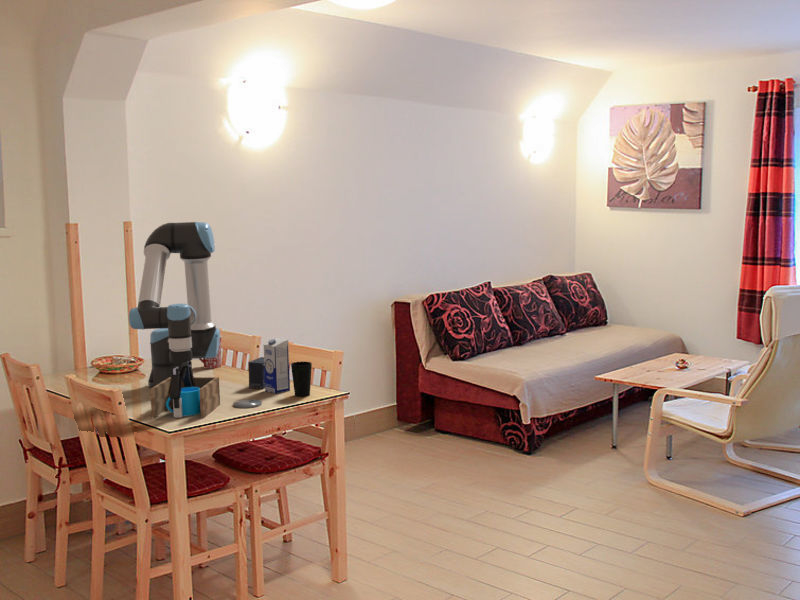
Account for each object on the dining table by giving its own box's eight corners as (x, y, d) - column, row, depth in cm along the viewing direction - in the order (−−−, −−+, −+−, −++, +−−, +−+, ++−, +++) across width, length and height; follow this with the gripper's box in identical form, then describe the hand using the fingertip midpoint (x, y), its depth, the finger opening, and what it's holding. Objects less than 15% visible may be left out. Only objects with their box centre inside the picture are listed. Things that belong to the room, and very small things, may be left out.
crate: (171, 404, 289) (169, 377, 287) (220, 404, 287) (218, 377, 286) (151, 418, 271) (150, 389, 270) (203, 418, 269) (202, 389, 268)
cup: (309, 391, 304) (308, 360, 302) (315, 396, 297) (314, 364, 295) (289, 394, 301) (288, 362, 300) (294, 398, 294) (293, 366, 292)
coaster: (237, 401, 292) (237, 399, 292) (264, 401, 291) (264, 399, 291) (229, 408, 282) (229, 406, 282) (257, 408, 281) (257, 406, 281)
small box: (263, 389, 309) (262, 362, 308) (248, 388, 311) (247, 361, 310) (276, 383, 319) (275, 357, 318) (261, 382, 321) (260, 356, 320)
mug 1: (196, 408, 283) (195, 385, 282) (204, 413, 276) (203, 390, 275) (162, 413, 276) (161, 390, 275) (170, 419, 269) (169, 395, 268)
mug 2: (220, 363, 359) (218, 334, 358) (225, 367, 351) (224, 337, 350) (191, 367, 354) (190, 336, 352) (196, 370, 346) (195, 339, 344)
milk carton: (290, 390, 306) (288, 338, 304) (275, 393, 302) (273, 341, 299) (279, 387, 312) (277, 336, 309) (265, 390, 307) (262, 339, 304)
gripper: (181, 343, 285) (184, 404, 288) (157, 356, 262) (160, 421, 265) (202, 343, 284) (205, 404, 287) (179, 355, 262) (182, 422, 264)
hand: (183, 412), depth 276 cm, fingers open, 10 cm apart
